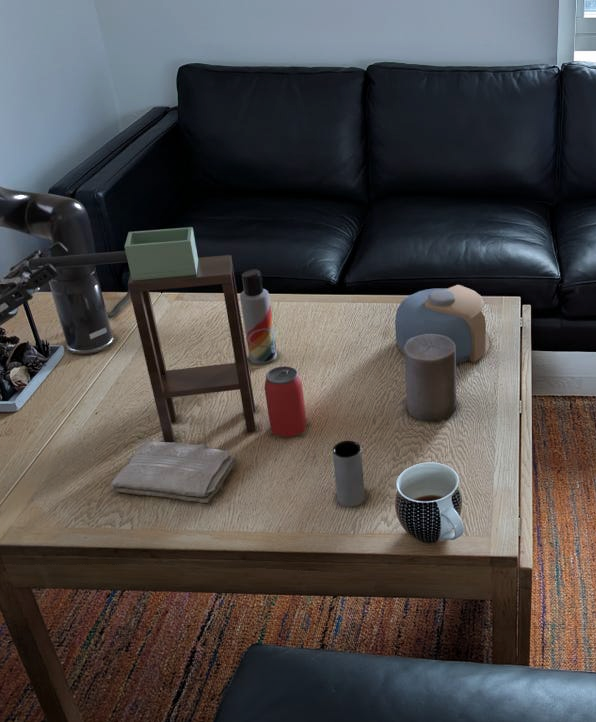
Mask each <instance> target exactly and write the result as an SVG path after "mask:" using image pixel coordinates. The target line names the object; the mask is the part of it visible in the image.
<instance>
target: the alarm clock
mask: <svg viewBox="0 0 596 722" xmlns="http://www.w3.org/2000/svg"><path fill="white" fill-rule="evenodd" d="M484 307H485V301H484V299H483V297H482V296H481V294H479V293H478V292H477V291H475V290H473V289H471V288H468V287H467V286H466V287H465V286H464V285H461V284H456V285H453V286H450V287H448V288H446V287H445V288H443V287H441V288H429V289H427V288H426V289H423V290H419V291H416V292H415V293H412V294H410V295H408V296H407V297H405V298H404V299H403V300H402V301H401V303H400V304H399V305H398V307H397V309H396V311H395V312H396V313H395V319H394V324H395V325H394V329H395V342H396V345H397V346H398V348H400V349H401V351H402V353H403V354H404V345H405V344H406V342H407V341H408V340H409V339H411V338H413V337H416V336H419V335H424V334H437V335H443V336H446V337H448V338H450V339H451V340H452V341H453V342H454V343H455V347H456V364H459V363H463V362H465V361H468V360H469V361H470V362H473V363H476V362H477V361H479V360H480V359H482V358H483V357H484V356H486V354H487V352H488V350H489V346H490V345H489V344H490V343H489V341H490V340H489V333H488V332H487V322H486V317H485V315H484V313H483V312H482V310H483V309H484Z"/></svg>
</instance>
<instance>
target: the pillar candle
mask: <svg viewBox="0 0 596 722" xmlns="http://www.w3.org/2000/svg"><path fill="white" fill-rule="evenodd" d="M403 354H404V370H405V371H404V372H405V373H404V374H405V397H406V398H405V399H406V409H407V411H408V413H409V415H410V416H412V417H413V418H414V419H417V420H419V421H425V422H437V421H441V420H443V419H446V418H449V417H451V416H452V415H454V413H455V412H456V410H457V363H456V347H455V343H454V342H453V341H452V340H451V339H450V338H448V337H446V336H443V335H437V334H424V335H419V336H416V337H413V338H411V339H409V340H408V341H407V342H406V344H405V345H404V353H403Z"/></svg>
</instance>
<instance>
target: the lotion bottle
mask: <svg viewBox="0 0 596 722" xmlns="http://www.w3.org/2000/svg"><path fill="white" fill-rule="evenodd" d="M241 280H242V286H243V287H242V288H243V290H242V291H241V292H240V294H239V298H240V301H239V302H240V306H241V313H242V319H243V325H244V326H243V327H244V332H245V333H244V334H245V339H246V345H247V346H246V347H247V352H248V357H249V361H251V363H254V364H257V365H265V364H270V363H271V362H274V361H275V360H276V358H277V356H278V354H277V345H276V338H275V329H274V322H273V321H274V320H273V314H272V307H271V301H270V300H271V299H270V293H269V291H268V290H267V289H265V288H264V284H263V277H262V272H261V271H260V270H259V269H256V268H252V269H248V270H246V271H244V272H243V273H242V274H241Z"/></svg>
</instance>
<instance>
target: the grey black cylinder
mask: <svg viewBox="0 0 596 722" xmlns="http://www.w3.org/2000/svg"><path fill="white" fill-rule="evenodd" d="M362 452H363V451H362V446H361V444H360V443H358V442H357V441H354V440H350V439H349V440H343V441H339V442H337V443H336V444H335V445H334V446H333V447H332V460H333V470H334V471H333V472H334V480H335V488H336V489H335V490H336V498H337V499H336V500H337V502H338V504H339V505H341V506H343V507H348V508H351V507H352V508H353V507H357V506H359V505H360V504H362V503H363V502H364V501H365V497H366V493H365V480H364V467H363V453H362Z"/></svg>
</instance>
